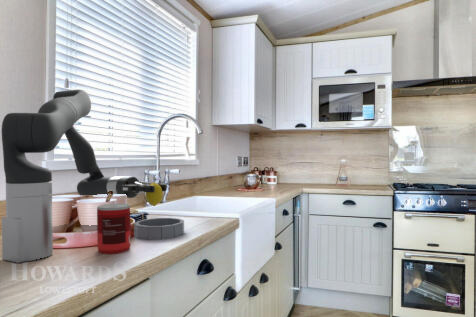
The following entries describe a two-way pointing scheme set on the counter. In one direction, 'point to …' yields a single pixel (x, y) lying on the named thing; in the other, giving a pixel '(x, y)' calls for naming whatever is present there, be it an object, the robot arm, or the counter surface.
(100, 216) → the canned food
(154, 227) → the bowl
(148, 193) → the lemon
